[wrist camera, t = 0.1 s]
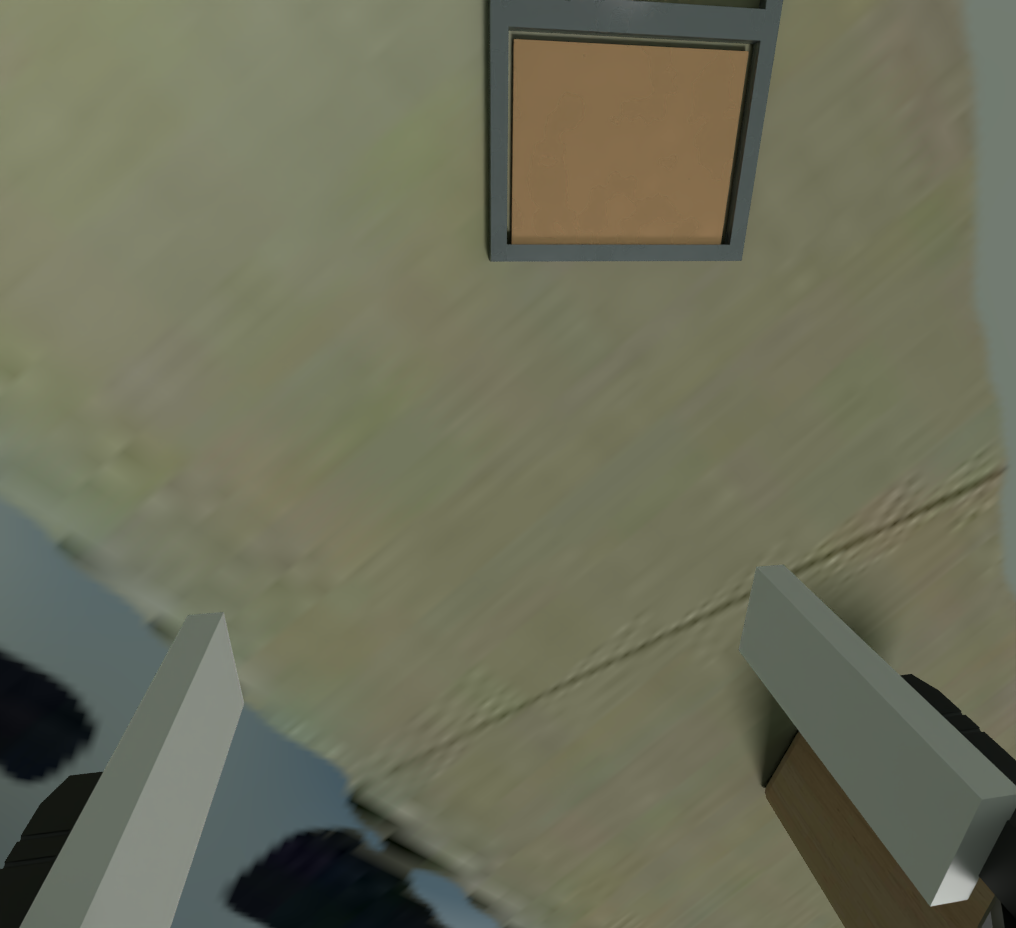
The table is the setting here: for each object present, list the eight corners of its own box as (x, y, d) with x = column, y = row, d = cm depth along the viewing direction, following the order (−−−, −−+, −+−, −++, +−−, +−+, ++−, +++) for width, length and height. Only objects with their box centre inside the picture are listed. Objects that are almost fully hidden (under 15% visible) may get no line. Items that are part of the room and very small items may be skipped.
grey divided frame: (487, -329, 27) (489, -344, 27) (819, -281, 30) (829, -293, 29) (489, 260, 38) (491, 261, 37) (735, 259, 40) (741, 260, 39)
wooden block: (875, 730, 63) (1063, 941, 45) (833, 795, 66) (992, 1015, 48) (797, 723, 61) (963, 943, 42) (758, 791, 64) (896, 1021, 46)
